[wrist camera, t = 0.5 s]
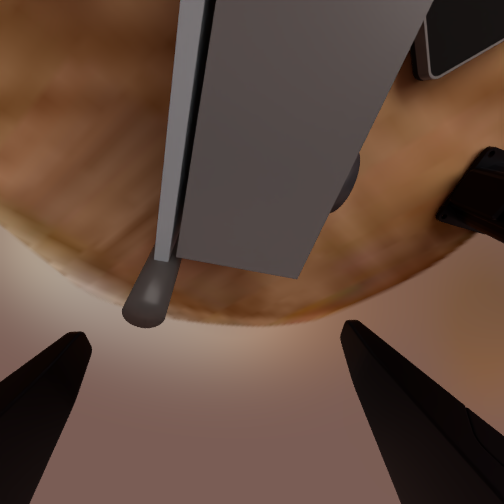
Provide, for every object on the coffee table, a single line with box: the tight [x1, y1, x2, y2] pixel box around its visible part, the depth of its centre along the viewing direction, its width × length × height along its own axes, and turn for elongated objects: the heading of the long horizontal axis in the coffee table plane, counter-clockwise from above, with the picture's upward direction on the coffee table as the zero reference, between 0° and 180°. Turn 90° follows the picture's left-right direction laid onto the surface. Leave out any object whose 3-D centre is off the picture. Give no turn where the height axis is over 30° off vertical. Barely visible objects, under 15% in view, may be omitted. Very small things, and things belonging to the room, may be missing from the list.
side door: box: [122, 0, 216, 328], centre depth 12 cm, size 2×17×10 cm, turn 163°
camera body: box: [176, 0, 433, 279], centre depth 14 cm, size 9×14×7 cm, turn 164°
